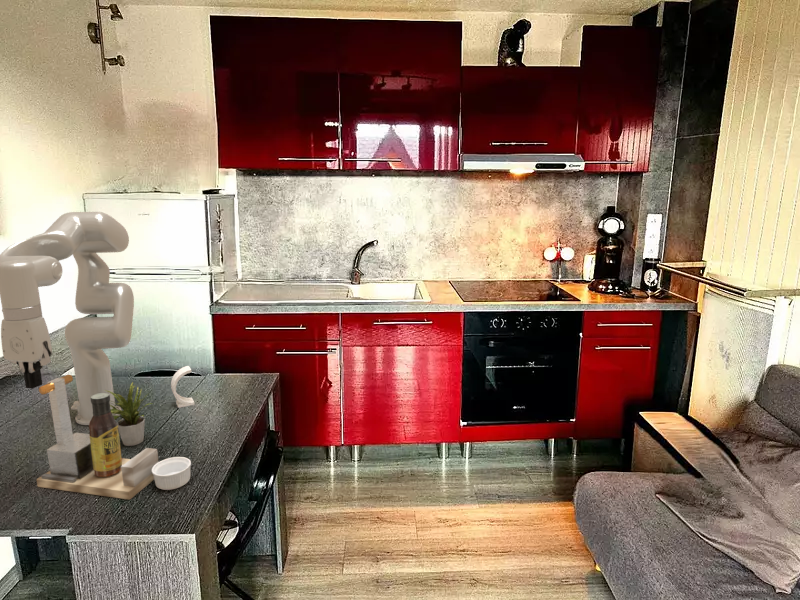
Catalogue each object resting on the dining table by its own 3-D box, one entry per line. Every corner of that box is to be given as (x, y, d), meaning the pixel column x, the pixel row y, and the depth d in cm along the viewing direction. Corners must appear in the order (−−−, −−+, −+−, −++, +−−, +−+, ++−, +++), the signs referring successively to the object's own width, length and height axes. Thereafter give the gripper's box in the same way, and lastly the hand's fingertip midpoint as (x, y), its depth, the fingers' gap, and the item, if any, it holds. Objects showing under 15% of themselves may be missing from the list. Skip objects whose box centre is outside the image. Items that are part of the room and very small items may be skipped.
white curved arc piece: (194, 404, 178) (191, 369, 175) (174, 408, 175) (171, 373, 173) (192, 399, 182) (188, 365, 179) (172, 403, 179) (169, 368, 176)
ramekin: (153, 495, 128) (151, 478, 128) (153, 476, 136) (151, 460, 135) (193, 486, 132) (191, 470, 131) (191, 468, 140) (189, 453, 139)
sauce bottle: (111, 480, 131) (100, 402, 126) (88, 477, 132) (76, 400, 128) (129, 466, 137) (119, 391, 133) (107, 463, 138) (97, 390, 134)
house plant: (106, 433, 159) (99, 380, 155) (158, 425, 164) (152, 373, 160) (100, 456, 146) (92, 399, 142) (157, 446, 151) (151, 391, 147)
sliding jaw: (50, 474, 133) (36, 387, 128) (79, 456, 141) (66, 373, 136) (79, 478, 131) (66, 389, 126) (107, 459, 140) (95, 376, 134)
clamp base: (37, 486, 132) (33, 460, 130) (79, 459, 144) (75, 435, 143) (130, 499, 127) (126, 472, 125) (165, 470, 139) (162, 445, 137)
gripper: (-19, 315, 127) (-6, 389, 131) (35, 318, 124) (47, 394, 128) (10, 308, 134) (22, 378, 138) (62, 310, 131) (72, 383, 135)
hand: (34, 386), depth 133 cm, fingers closed
